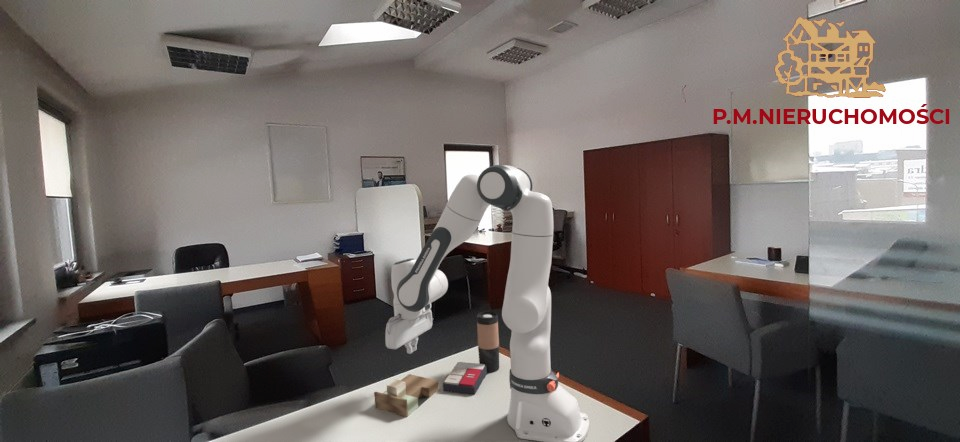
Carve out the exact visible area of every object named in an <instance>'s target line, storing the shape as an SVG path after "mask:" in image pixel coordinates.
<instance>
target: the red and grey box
mask: <svg viewBox="0 0 960 442" xmlns="http://www.w3.org/2000/svg"><path fill="white" fill-rule="evenodd" d="M487 374H488V373H487V365H485V364H479V363H475V362H465V361H458V362H457V363H456V364H455V365H454V366H453V368H452V369H451V371H450V373H449V374H448V376H447V377H446V378H445V380H444V381H443V383H442V391H443V392H444V393H453V394H454V393H455V394H461V395H462V394H463V395H472V396H475V395H476V394H477V392H478V390H479V388H480V386H481V385H482V383H483V381H484V379H485V378H486V376H487Z"/></svg>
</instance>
